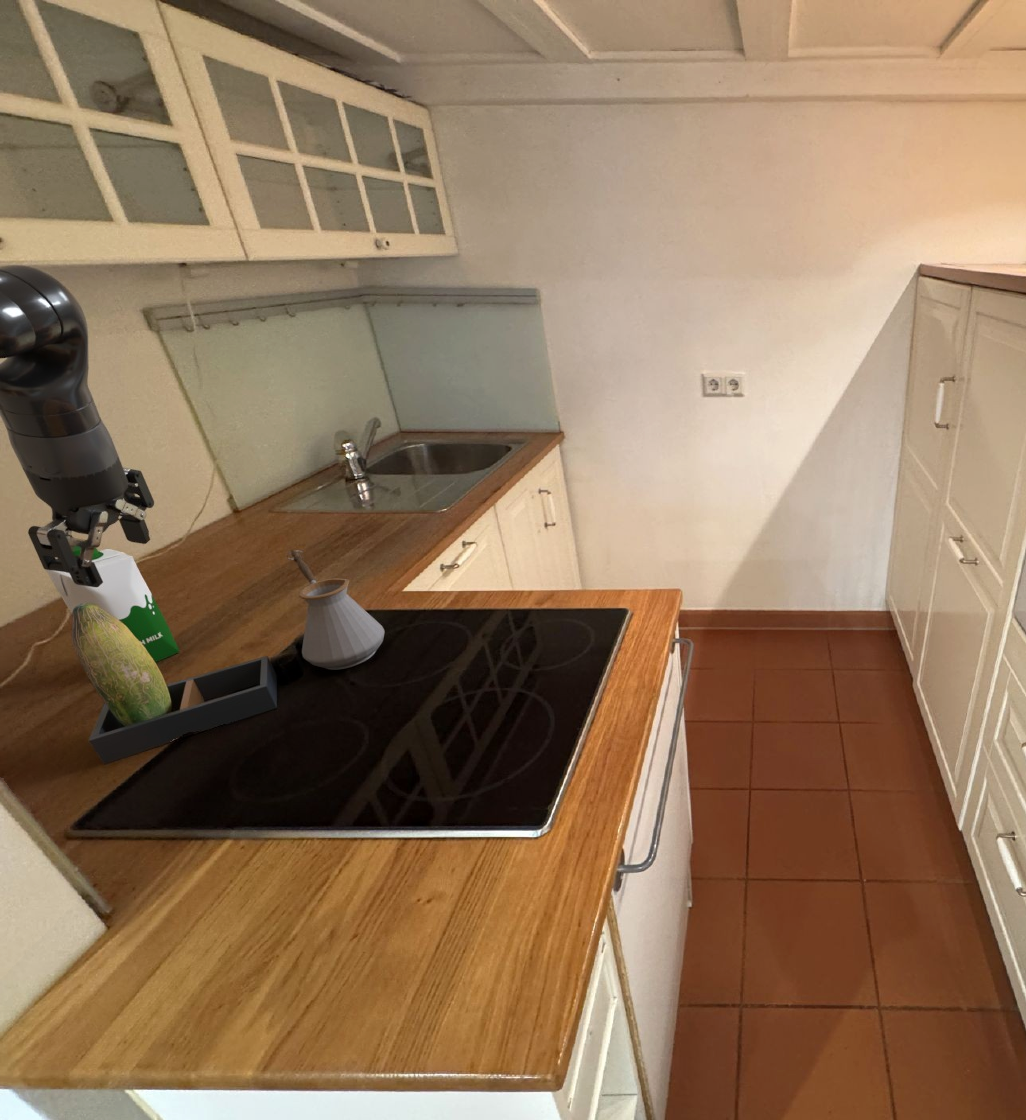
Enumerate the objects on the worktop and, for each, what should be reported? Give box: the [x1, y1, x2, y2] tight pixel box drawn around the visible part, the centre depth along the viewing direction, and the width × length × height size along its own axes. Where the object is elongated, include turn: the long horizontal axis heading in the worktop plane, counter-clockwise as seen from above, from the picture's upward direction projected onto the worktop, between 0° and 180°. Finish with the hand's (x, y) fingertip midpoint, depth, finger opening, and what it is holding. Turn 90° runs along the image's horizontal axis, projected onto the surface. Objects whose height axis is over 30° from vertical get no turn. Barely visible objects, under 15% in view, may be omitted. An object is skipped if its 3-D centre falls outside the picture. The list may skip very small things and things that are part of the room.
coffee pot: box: [286, 549, 386, 671], centre depth 100 cm, size 21×12×15 cm, turn 48°
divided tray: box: [88, 655, 278, 765], centre depth 87 cm, size 18×10×4 cm, turn 126°
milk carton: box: [44, 546, 180, 664], centre depth 97 cm, size 9×9×20 cm
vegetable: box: [70, 603, 172, 727], centre depth 81 cm, size 6×6×20 cm
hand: (116, 562), depth 78 cm, fingers open, 8 cm apart
